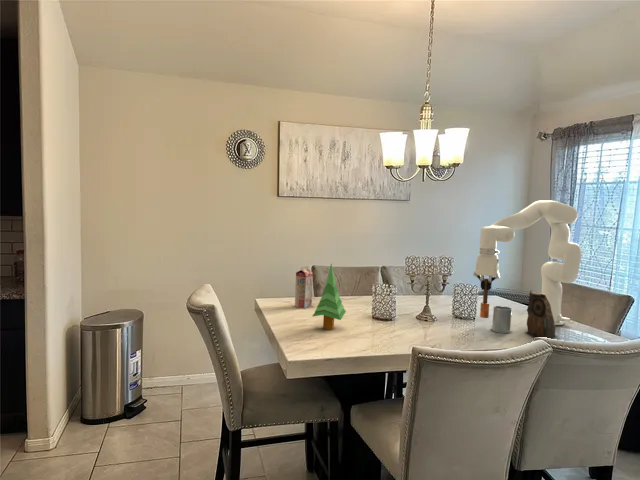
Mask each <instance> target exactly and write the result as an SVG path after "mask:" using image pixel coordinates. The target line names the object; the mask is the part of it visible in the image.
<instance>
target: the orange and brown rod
mask: <svg viewBox="0 0 640 480" xmlns="http://www.w3.org/2000/svg"><path fill="white" fill-rule="evenodd" d="M488 281H489V277H484V290H483V291H482V292H483V293H482V301H481V302H480V308H479V310H480V311H479V317H480V318H483V319H489V317H490V302H488V298H489V297H488V295H489V291H488V290H487V283H488Z"/></svg>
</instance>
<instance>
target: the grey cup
mask: <svg viewBox="0 0 640 480" xmlns="http://www.w3.org/2000/svg"><path fill="white" fill-rule="evenodd" d="M492 308H493V310H492V323H491V330H492V331H493V332H495V333H501V334H510V333H511V328H512V314H513V308H511V307H509V306H505V305H504V306H503V305H494V306H493V307H492Z"/></svg>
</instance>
